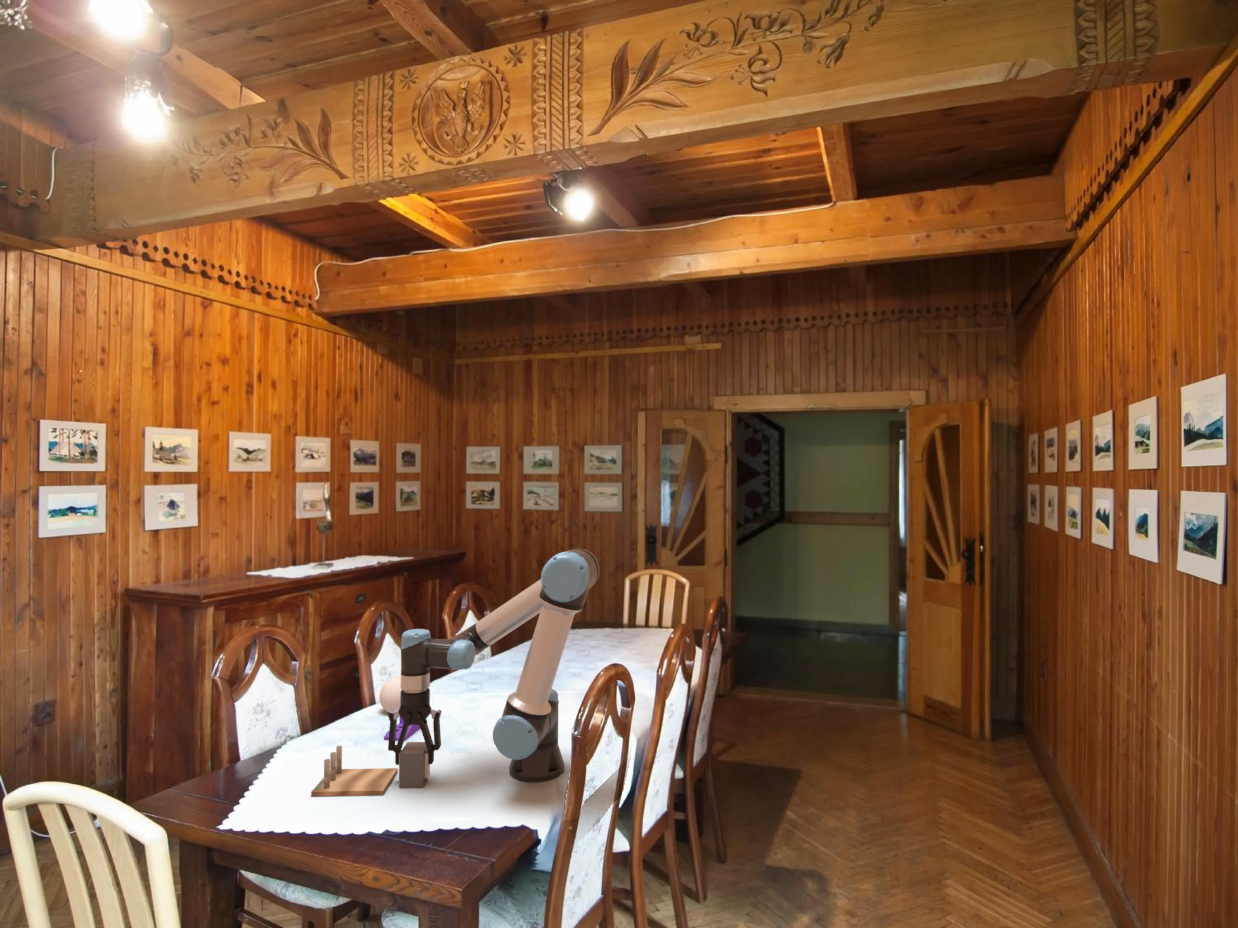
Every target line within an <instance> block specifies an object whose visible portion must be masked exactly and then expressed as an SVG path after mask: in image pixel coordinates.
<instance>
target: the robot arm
mask: <svg viewBox="0 0 1238 928" xmlns="http://www.w3.org/2000/svg"><path fill="white" fill-rule="evenodd" d="M540 576H541V577H540V579H539V580H537V581H536V582H535V583H533V584H531V585H530V586H529V587H527V588H525V589H524V590H522V591H520V593H518V594H517V595H514V597H512V598H511V599H509V600H508V601H506V602H505V603H503V604H501V605H500V606H499V607H498V608H496V609H494V610H493V611H492V612H490V613H489V614H487V615H486V616H484V617H483V618H481V619H480V620H478V621H477V622H475V623H474V624H472V625H471V626H469V627H467V628H466V629H465V630H463V631H462V632H460V633H458V634H456V635H454V636H452V637H450V638H441V639H440V638H432V637H431V632H430V630H429V629H425V628H413V629H412V628H411V629H408V630H406V631H404V632H403V633H402V634H401V642H400V678H401V689H402V691H401V698H400V709H399V710H397V711H391V712H390V713H389V712H388V716H387V717H388V720H389V730H388V731H389V740H388V745H387V750H388V751H389V752H390V751H392V752H394V753H395V756H394V759H395V761H394V763H395V765H396V766H399V760H400V752H401V751H402V749H403V747H404V743H405V741H404V740H405V737H406V734H407V731H408V728H409V725H414V724H415V725H419V726H420V729H419V730H421V733H422V736H423V739H424V742H425V743H426V747H427V751H426V753H425V778H429V777H430V775H431V765H433V763H434V761H435V751H438V750H440V748H441V746H442V737H441V734H442V733H441V723H440V722H441V721H440V719H441V715H442V710H441V709H438V710H436V709H432V707H431V704H430V700H431V695H430V694H431V690H430V687H431V669H444V670H455V671H459V670H469V669H471V667H472V666H473V664H474V662H475V658H476V656H477V655H479V654H481V653H482V652H484V650H486V649H488V648H489V647H490V646H492V645H493V644H495V643H496V642H498V641H499V640H501V639H502V638H504V637H505V636H507V635H508V634H510V633H511V632H512V631H514V630H516V629H517V628H520V626H522V625H523V624H525V623H527V622H528V621H529V620H531V619H532V618H535V617H536V616H537V615H538V614H539V616H538V619H537V622H536V625H535V628H534V632H533V635H532V638H531V640H530V641H531V642H530V645H529V647H528V651H527V653H526V654H527V655H526V658H525V660H524V662H523V663H524V664H523V667H522V671H521V673H520V676H519V680H518V683H517V686H516V687H517V688H516V689H515V691H514V692H512V693H510V694H509V695H508V696H507V699H506V702H505V705H504V709H503V711H502V715H501V717H500V718H498V720H497V721H496V723H495V725H494V727H493V731H492V741H493V743H494V744H493V745H495V747H496V749H497V751H498V752H499V753H500V754H501V755H502V756H504V757H506V758H507V759H510V760H511V761H510V762H509V767H508V769H509V771H508V772H509V776H510V777H511V778H512V779H513V780H516V781H517V782H523V783H532V784H533V783H544V782H548V781H551V780H555V779H557V778H559V777H561V775H563V773H564V772H565V762H564V759H563V755H562V752H561V749H560V746H559V704H560V700H559V693H558V692H557V691H556V690H555V689H552V688H553V685H554V683H555V679H556V675H557V673H558V668H559V665H560V663H561V659H562V655H563V652H564V649H565V646H566V643H567V640H568V637H569V634H570V630H571V628H572V624H573V621H574V618H575V615H576V614H577V613H580V612H582V611H583V609H584V606H585V602H586V599H587V596H588V592H589V590H590V589H591V588H592V587H593V586H594V585H595V584H596V582H597V581H598V579H599V576H600V565H599V561H598V559H597V558H596V556H595V555H594V553H592V552H590V551H589V550H588V549H584V548H579V547H578V548H576V547H575V548H572V549H569V550H566V551H562V552H558V553H556V554H555V555H554V556H552V557H550V559H549V560H548V561H546V563H545V564H544V566H543V568H542V571H541V575H540ZM429 715H431V719H432V720H433V721H432V722H433V723H432V725H433V726H432V727H433V739H432V735H431V731H430V729H429V726H428V720H427V718H428V717H429ZM400 716H401V717H402V719H403V720H404V724H403V727H402V731H401V734H400V737H399V740H398V741H397V742H396V741H395V740H396V727H397V725H398V724H397V723H398V719H399V717H400ZM433 741H434V742H433ZM396 743H397V744H396Z"/></svg>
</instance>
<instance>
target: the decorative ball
mask: <svg viewBox="0 0 1238 928" xmlns="http://www.w3.org/2000/svg"><path fill="white" fill-rule="evenodd" d="M401 691H402V689H401V677H395V678H391V679H389V680H388V681H386V682H385V683H384V684H383V686H382V687H381V689H380V692H379V703H380V706H381V707H382V709H383V710H384V711H385V712H387V713H388V714H389V713H390V712H391V711H397V710H399V709H400V698H401Z"/></svg>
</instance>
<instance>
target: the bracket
mask: <svg viewBox="0 0 1238 928" xmlns="http://www.w3.org/2000/svg"><path fill="white" fill-rule="evenodd" d="M398 719H399V720H398V721H399V722H398V724H397V727H396V740H395V742H398V740H399V737H400V734H401V731H402V727H403V724H404V720H403V719H402V717H401V716H400V715H399V716H398ZM420 730H421V729H420V726H419V725H415V724H414V725H409V728H408V731H407V734H406V737H405V740H404V742H405V741H407V740H408V739H409V738H410V737H412V736H413V735H414V734H416V733H417V732H418V731H420ZM383 740H384V741H389V730H387V732H386V734H385V735H383Z"/></svg>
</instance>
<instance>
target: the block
mask: <svg viewBox="0 0 1238 928" xmlns="http://www.w3.org/2000/svg"><path fill="white" fill-rule="evenodd" d="M401 750H402V751H401V752H400V760H399V765H398V780H399V781H398V783H399V784H398V788H399V789H423V788H424V786H425V784H426V783H427V780H428V778H429V777H428V778H425V753H426V751H427V747H426V743H425V741H407V742H406V744H405V745H403V747H402V749H401Z"/></svg>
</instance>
